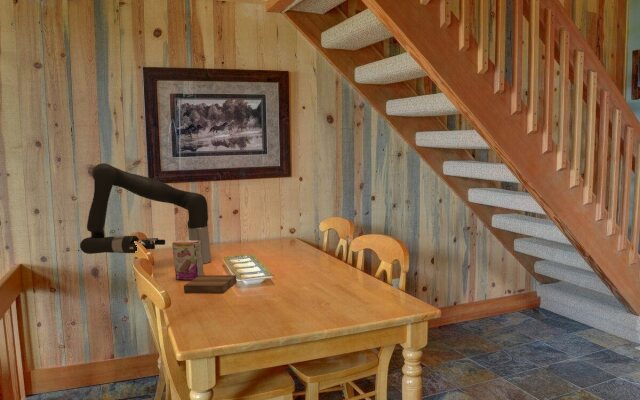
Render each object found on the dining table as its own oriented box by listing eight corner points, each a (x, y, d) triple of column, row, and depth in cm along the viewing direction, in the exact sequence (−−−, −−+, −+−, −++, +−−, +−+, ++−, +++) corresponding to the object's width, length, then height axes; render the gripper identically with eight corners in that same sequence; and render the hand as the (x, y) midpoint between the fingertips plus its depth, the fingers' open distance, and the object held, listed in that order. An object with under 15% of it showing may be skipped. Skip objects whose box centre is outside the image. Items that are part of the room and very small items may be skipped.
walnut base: (200, 282, 220) (199, 275, 219) (236, 282, 216) (235, 275, 216) (184, 293, 206) (183, 285, 206) (222, 293, 202) (222, 285, 202)
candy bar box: (175, 280, 226) (171, 242, 223) (182, 277, 230) (178, 239, 228) (198, 281, 222) (194, 242, 220) (204, 277, 227) (200, 240, 224)
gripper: (115, 239, 223) (150, 239, 219) (134, 232, 237) (167, 232, 233) (117, 256, 224) (151, 256, 220) (135, 249, 238) (168, 249, 234)
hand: (159, 244), depth 227 cm, fingers open, 8 cm apart
